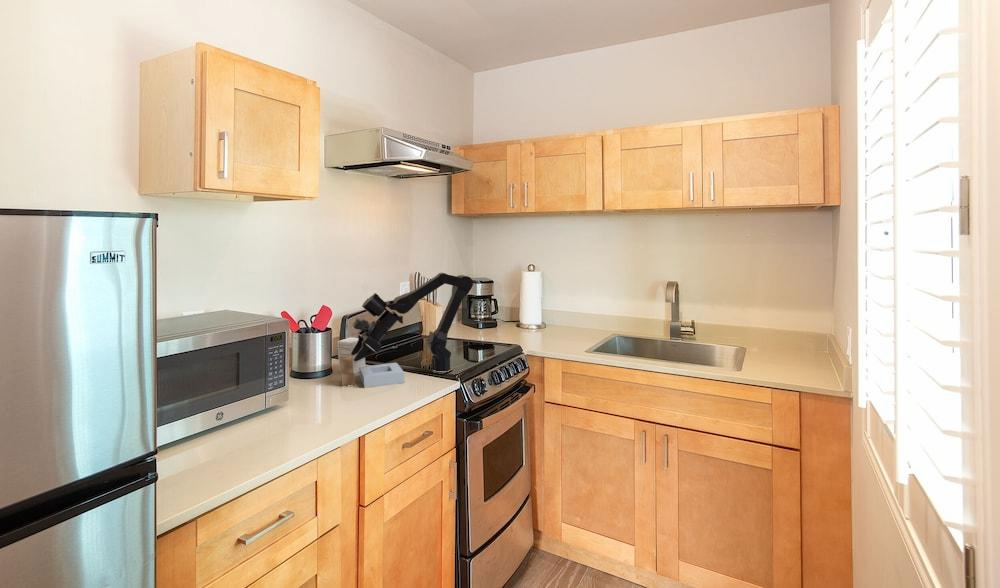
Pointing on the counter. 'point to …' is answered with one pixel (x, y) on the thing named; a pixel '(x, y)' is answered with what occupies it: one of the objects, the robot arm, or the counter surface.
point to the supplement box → (349, 352)
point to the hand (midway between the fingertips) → (353, 357)
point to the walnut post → (346, 370)
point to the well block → (381, 375)
